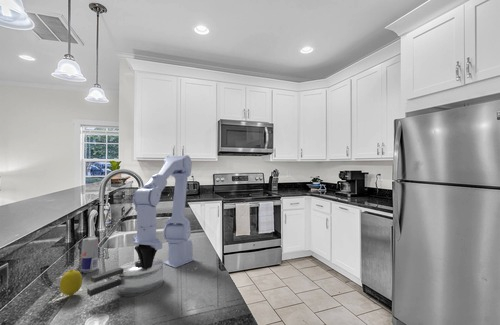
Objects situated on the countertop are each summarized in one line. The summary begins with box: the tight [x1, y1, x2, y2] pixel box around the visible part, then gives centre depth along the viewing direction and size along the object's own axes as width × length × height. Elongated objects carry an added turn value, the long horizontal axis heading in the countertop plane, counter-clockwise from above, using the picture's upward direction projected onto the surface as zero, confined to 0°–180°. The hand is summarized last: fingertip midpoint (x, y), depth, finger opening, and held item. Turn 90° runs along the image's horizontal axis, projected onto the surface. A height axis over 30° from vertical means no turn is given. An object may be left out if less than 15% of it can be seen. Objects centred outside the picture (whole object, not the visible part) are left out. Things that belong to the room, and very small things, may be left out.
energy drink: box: [80, 236, 99, 274], centre depth 92 cm, size 5×5×12 cm
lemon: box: [59, 269, 83, 297], centre depth 73 cm, size 6×6×8 cm
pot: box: [86, 265, 164, 298], centre depth 76 cm, size 22×14×5 cm, turn 143°
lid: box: [90, 257, 164, 283], centre depth 77 cm, size 21×14×2 cm, turn 143°
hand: (146, 267), depth 77 cm, fingers closed
